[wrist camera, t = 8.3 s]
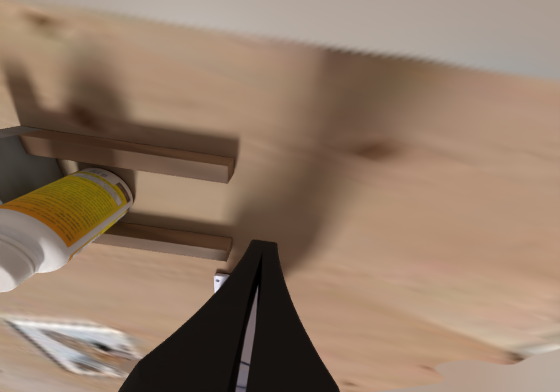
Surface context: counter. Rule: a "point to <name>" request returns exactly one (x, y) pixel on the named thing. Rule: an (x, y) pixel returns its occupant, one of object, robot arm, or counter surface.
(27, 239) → the supplement bottle
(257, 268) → the robot arm
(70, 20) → the counter surface
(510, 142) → the counter surface
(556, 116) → the counter surface
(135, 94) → the counter surface
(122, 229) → the guide track
